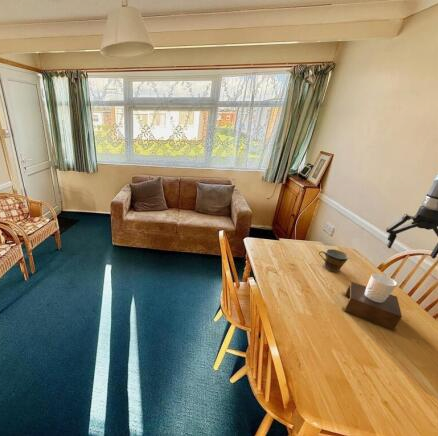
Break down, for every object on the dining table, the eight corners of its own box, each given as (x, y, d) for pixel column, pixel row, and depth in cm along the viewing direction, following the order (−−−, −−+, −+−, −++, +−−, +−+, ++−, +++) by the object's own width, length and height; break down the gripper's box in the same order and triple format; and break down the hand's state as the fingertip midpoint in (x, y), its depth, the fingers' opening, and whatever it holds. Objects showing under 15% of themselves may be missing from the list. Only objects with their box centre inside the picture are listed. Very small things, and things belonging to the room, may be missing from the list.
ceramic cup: (340, 266, 134) (347, 252, 130) (343, 275, 126) (350, 261, 122) (314, 259, 140) (319, 246, 136) (315, 268, 132) (320, 254, 128)
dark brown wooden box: (389, 309, 105) (397, 296, 101) (393, 330, 95) (402, 316, 91) (344, 293, 114) (350, 281, 110) (344, 311, 104) (350, 298, 101)
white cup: (388, 299, 100) (399, 281, 96) (383, 306, 96) (394, 288, 92) (365, 288, 106) (374, 271, 102) (359, 295, 102) (368, 277, 98)
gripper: (393, 204, 97) (373, 246, 106) (488, 218, 83) (456, 265, 92) (390, 199, 102) (371, 240, 111) (479, 211, 88) (449, 257, 97)
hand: (409, 251), depth 102 cm, fingers open, 13 cm apart
